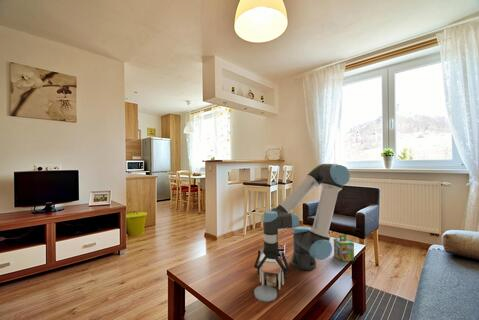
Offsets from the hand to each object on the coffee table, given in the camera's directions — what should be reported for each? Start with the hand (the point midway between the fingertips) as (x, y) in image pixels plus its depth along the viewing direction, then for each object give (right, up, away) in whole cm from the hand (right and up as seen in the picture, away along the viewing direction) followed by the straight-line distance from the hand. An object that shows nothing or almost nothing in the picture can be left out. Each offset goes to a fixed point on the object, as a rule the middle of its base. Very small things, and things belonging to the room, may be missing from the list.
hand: (271, 282), depth 113 cm
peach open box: (0, -1, 0) cm, 1 cm away
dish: (-4, -1, -9) cm, 10 cm away
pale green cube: (0, -1, +11) cm, 11 cm away
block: (0, -1, 0) cm, 1 cm away
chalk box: (+52, 0, +27) cm, 58 cm away
